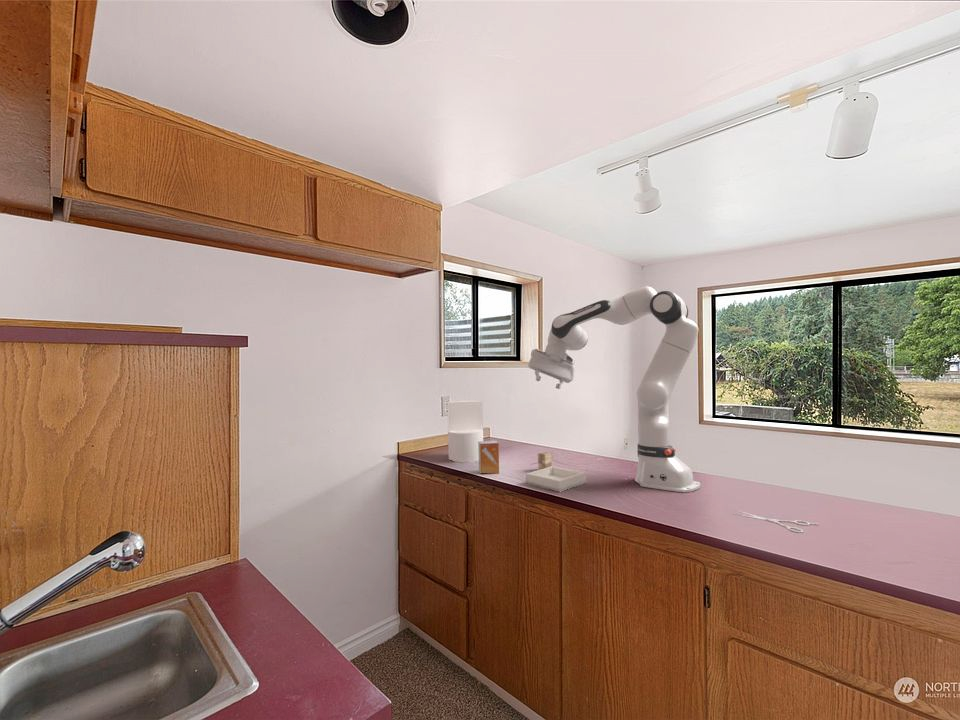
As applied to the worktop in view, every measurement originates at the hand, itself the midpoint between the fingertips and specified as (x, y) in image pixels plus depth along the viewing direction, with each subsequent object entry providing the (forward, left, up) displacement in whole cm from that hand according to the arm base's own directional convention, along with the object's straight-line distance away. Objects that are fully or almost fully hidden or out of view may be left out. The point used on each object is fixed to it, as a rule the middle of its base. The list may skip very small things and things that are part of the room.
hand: (547, 384), depth 186 cm
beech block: (+3, -1, -37) cm, 37 cm away
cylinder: (+47, +6, -37) cm, 61 cm away
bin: (-13, +12, -37) cm, 41 cm away
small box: (+19, +17, -37) cm, 45 cm away
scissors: (-81, +1, -38) cm, 89 cm away
